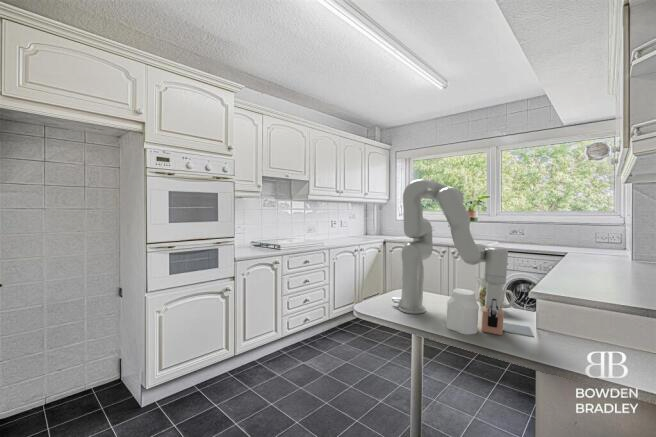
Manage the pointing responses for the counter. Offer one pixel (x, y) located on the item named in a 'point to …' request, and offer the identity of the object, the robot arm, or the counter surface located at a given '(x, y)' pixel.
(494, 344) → the counter surface
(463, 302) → the jar
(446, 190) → the robot arm
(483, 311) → the salmon pink block
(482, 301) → the pitcher
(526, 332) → the mat
